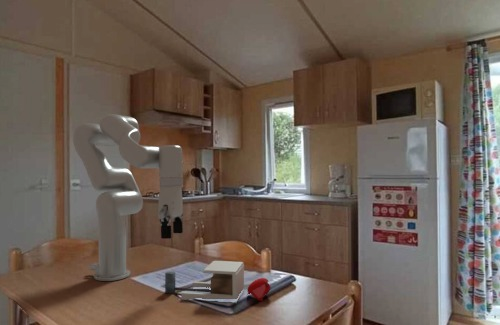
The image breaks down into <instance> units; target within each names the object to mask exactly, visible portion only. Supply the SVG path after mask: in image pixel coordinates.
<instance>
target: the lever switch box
mask: <svg viewBox="0 0 500 325" xmlns="http://www.w3.org/2000/svg"><path fill="white" fill-rule="evenodd" d="M215 273H216V274H232V283H233V295H226V294H211V292H196V291H182V292H181V293H180V294H181V297H180V298H181V300H182V301H184V300H185V301H188V300H187V299H195V298H202V299H237V298H238V296H239V294H240V293H241V291H242V290H243V288H244V289H245V264H244V261H231V260H228V261H227V260H213V261H211V263H209V265H207V266H206V267H205V268H204V269H203V274H212V276H213V275H214V274H215ZM193 287H206V288H207V287H208V288H209V287H210V288H211V281H192V288H193Z"/></svg>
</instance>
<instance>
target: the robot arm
mask: <svg viewBox="0 0 500 325" xmlns="http://www.w3.org/2000/svg"><path fill="white" fill-rule="evenodd" d="M140 141H141V133H140V126H139V123H138V121H137V120H136V119H135V118H134V117H132V116H129V115H120V114H114V113H109V114H108V113H107V114H105V115H104V116H102V117H101V119H100V120H99V123H92V122H91V123H90V122H85V123H81V124H78V125H77V126H76V127H75V128H74V130H73V134H72V142H73V147H74V150H75V151H76V154H77V155H78V156H79V158H80V160H81V162H82V163H83V166H84V168H85V171H86V173H87V175H88V178H89V182H90V183H91V186H92V187H93V189H94V190H95V191H97V192H101V193H100V194H99V195H98V196H97V198H96V200H95V208H96V213H97V219H98V263H91V265H90V267H89V270H90V271H95V273H94V275H93V279H94V280H96V281H99V282H100V281H101V282H113V281H118V280H122V279H125V278H128V277H129V276H130V275H131V270H129V269H128V268H127V227H126V223H125V221H124V220H123V218H122V216H128V215H133V214H137V213H139V212H140V211H141V210H142V209H143V205H144V199H143V196H142V193H141V191H140V189H139V185H138V184H137V182H136V180H135V178H134V175H133V173H132V172H131V171H130V170H129V169H128V168H126V167H122V166H112V165H111V164H110V163H109V161H108V158H107V157H106V154H105V153H104V152H103V151H102V150H100V148H98V147H97V146H101V147H117V146H118V151H119V155H120V157H121V158H122V159H123V160H125V161H126V162H127V163H128V164H129V165H131V166H132V167H134V168H136V169H158V175H159V176H158V177H159V179H158V180H159V181H158V182H159V191H158V193H159V194H158V210H157V212H158V213H157V214H158V215H157V217H158V218H159V222H160V224H159V226H160V238H161V239H167V240H170V239H172V233H173V234H182V233H183V232H184V231H183V221H184V218H183V216H184V213H183V212H184V205H183V204H184V203H183V202H184V201H183V192H182V190H183V189H182V188H184V176H183V175H184V174H183V167H184V166H183V148H182V147H181V146H180V145H176V144H172V145H171V144H167V145H161V146H154V145H152V146H151V145H141V144H139V143H140ZM172 220H173V222H172ZM171 222H172V225H171Z"/></svg>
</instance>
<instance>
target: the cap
mask: <svg viewBox="0 0 500 325" xmlns="http://www.w3.org/2000/svg"><path fill="white" fill-rule="evenodd" d="M271 288H272V287H271V285H270V283H269V280H268V279H267V278H263V277H261V278H257V279H254V280H253V281H252V282H251V283H249V285H248V287H247V294H246V296H247V295H248V294H250V293H251V294H250V295H252V296H253V298H255V299H256V300H257V301H259V302H263V300H264V299H263V298H264V297H265V296H264V295H265V294H266V296H267V295H268V294H269V292H270V290H271Z"/></svg>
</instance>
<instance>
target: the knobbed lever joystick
mask: <svg viewBox="0 0 500 325" xmlns="http://www.w3.org/2000/svg"><path fill="white" fill-rule="evenodd" d="M210 282H211V290H209V289H193V287H178V286H177V287H176V272H175V271H167V272H165V274H164V288H165V290H164V292H165V294H174V293H176V291H182V292H198V293H211V294H226V295H233V283H232V274H216V273H215V274H214V275H213V274H212V276H211V277H210Z"/></svg>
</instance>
